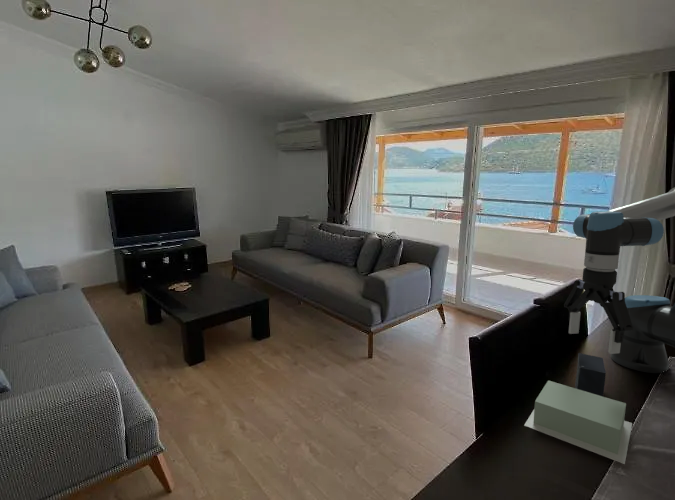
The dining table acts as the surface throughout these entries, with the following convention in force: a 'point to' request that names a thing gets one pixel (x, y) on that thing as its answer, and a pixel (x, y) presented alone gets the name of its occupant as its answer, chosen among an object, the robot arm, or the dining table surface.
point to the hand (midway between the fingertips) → (592, 342)
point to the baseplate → (617, 457)
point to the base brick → (581, 415)
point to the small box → (590, 374)
